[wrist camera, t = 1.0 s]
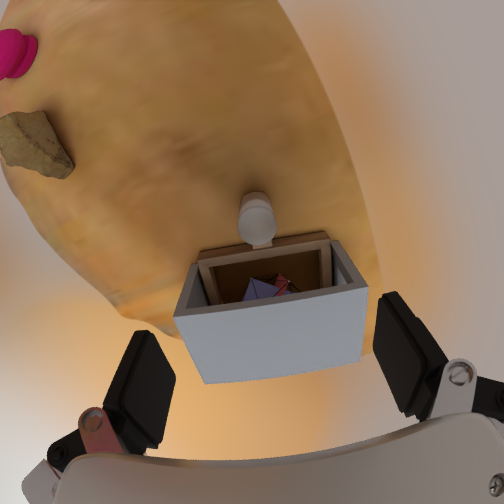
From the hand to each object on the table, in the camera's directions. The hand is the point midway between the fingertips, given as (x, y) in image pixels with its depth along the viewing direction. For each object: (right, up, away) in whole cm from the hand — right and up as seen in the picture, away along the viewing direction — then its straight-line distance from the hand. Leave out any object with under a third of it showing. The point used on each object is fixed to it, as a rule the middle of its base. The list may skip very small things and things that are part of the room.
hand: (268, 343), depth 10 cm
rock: (-25, +17, +14) cm, 33 cm away
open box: (+2, -1, +22) cm, 22 cm away
